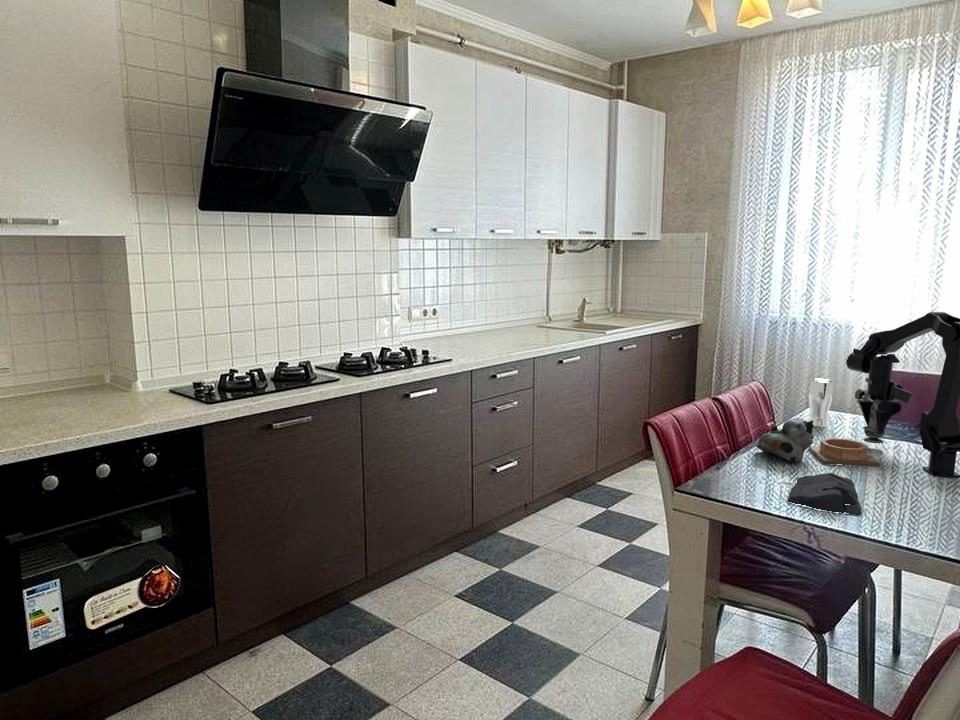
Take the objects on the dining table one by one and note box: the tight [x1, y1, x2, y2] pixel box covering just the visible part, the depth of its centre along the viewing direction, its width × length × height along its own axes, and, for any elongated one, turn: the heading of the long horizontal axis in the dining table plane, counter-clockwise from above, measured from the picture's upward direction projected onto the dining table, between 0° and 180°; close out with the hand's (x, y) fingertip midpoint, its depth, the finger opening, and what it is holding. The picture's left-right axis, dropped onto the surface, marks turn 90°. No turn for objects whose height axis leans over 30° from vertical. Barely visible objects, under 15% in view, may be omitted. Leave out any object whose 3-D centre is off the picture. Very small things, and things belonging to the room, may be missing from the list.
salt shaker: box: [862, 405, 887, 444], centre depth 202 cm, size 6×6×12 cm
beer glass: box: [807, 378, 834, 428], centre depth 229 cm, size 7×7×15 cm
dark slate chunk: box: [786, 472, 863, 516], centre depth 163 cm, size 15×22×5 cm
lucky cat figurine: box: [755, 417, 815, 465], centre depth 193 cm, size 15×12×14 cm
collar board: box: [808, 437, 881, 468], centre depth 194 cm, size 14×14×4 cm
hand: (874, 429), depth 203 cm, fingers closed on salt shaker, 8 cm apart
